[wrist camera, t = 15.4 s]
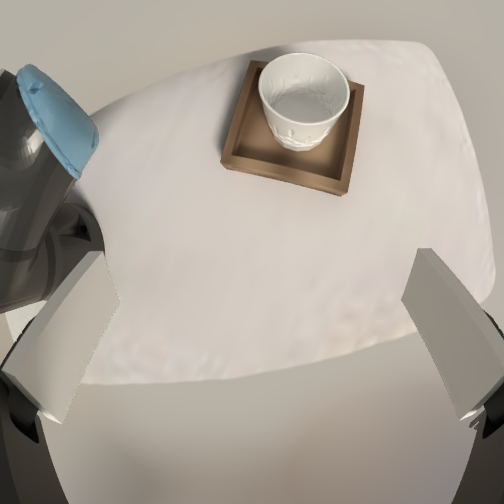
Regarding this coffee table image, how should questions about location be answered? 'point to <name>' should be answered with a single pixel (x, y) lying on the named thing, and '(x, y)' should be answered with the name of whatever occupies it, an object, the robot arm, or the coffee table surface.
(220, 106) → the coffee table surface
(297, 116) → the white cup
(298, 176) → the tray
